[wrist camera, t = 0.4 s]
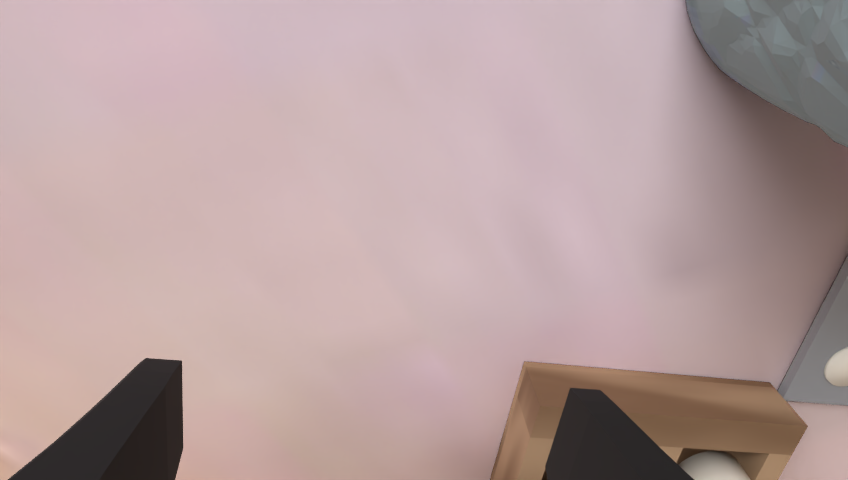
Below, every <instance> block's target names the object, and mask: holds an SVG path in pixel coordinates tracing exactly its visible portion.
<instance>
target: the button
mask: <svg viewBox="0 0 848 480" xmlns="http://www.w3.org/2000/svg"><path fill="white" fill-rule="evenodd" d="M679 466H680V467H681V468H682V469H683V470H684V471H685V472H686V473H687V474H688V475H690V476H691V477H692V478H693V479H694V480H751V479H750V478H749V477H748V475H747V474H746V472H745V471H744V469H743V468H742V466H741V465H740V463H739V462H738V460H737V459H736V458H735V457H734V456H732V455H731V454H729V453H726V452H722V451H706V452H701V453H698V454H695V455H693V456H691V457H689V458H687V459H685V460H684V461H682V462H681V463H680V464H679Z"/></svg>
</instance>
